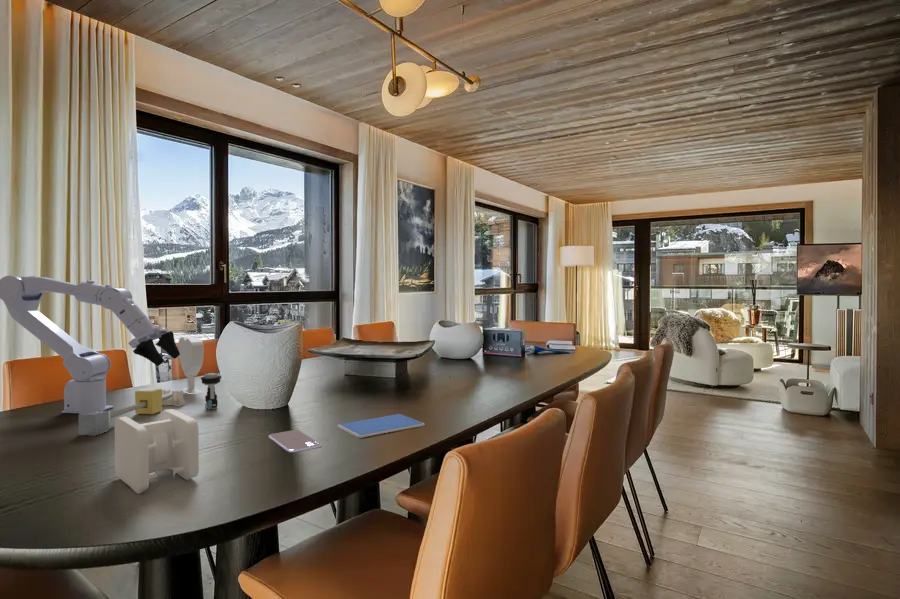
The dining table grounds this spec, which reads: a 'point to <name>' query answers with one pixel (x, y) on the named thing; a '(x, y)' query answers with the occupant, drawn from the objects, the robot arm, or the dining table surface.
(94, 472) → the dining table surface
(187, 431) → the cable organizer
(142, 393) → the matte pale yellow cube
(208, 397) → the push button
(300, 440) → the mobile phone
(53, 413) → the dining table surface
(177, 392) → the cable comb
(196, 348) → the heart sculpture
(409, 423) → the tablet computer
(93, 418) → the connector
